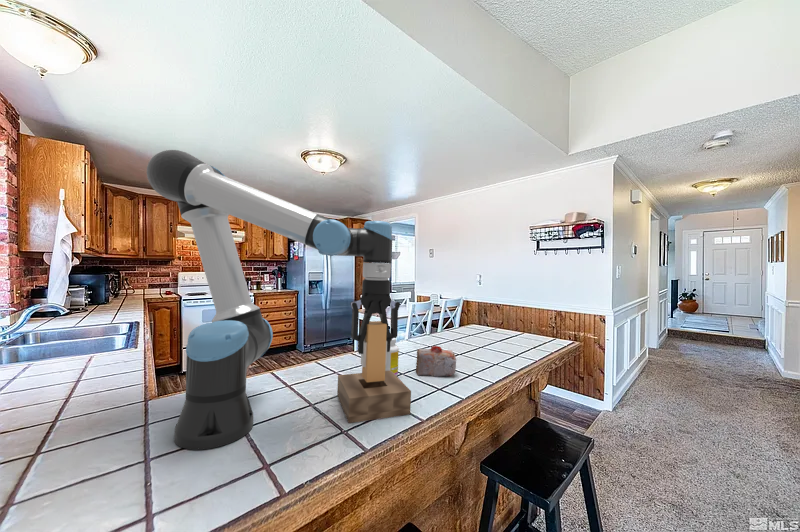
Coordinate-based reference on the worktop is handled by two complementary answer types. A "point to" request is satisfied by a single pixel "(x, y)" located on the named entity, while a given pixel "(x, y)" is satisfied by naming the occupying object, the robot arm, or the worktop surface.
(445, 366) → the food item
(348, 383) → the socket block
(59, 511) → the worktop surface
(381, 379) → the peg
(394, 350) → the supplement bottle
